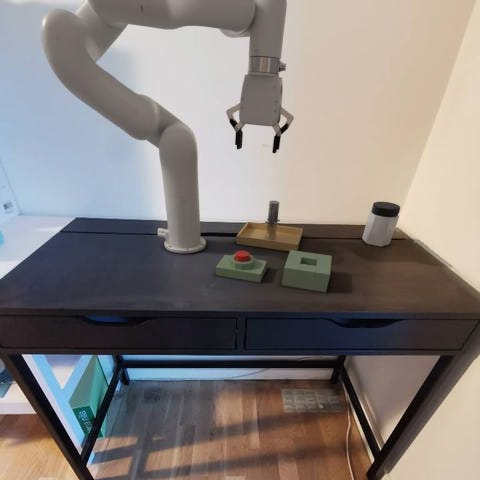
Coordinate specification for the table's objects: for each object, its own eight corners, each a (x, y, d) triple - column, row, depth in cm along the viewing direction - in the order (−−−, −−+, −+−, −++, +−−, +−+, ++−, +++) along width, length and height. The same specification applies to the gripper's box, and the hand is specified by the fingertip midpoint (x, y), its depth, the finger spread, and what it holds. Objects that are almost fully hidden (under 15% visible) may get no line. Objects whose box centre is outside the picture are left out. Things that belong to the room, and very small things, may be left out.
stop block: (215, 275, 82) (215, 261, 79) (224, 262, 88) (224, 249, 86) (260, 282, 79) (261, 268, 77) (266, 269, 86) (267, 255, 83)
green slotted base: (281, 285, 79) (284, 267, 76) (288, 266, 87) (290, 249, 84) (325, 292, 77) (330, 274, 74) (327, 272, 85) (331, 255, 82)
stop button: (233, 261, 81) (233, 255, 80) (237, 256, 83) (237, 249, 82) (247, 263, 80) (247, 257, 79) (250, 257, 83) (250, 251, 82)
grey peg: (263, 239, 101) (266, 203, 94) (265, 234, 105) (268, 199, 98) (276, 241, 100) (280, 204, 93) (278, 236, 104) (282, 200, 97)
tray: (236, 243, 99) (236, 235, 97) (247, 228, 110) (247, 221, 109) (296, 252, 95) (297, 244, 94) (301, 236, 106) (302, 228, 105)
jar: (377, 248, 100) (389, 210, 93) (357, 239, 105) (367, 203, 98) (394, 243, 104) (407, 206, 97) (373, 235, 109) (384, 200, 102)
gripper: (302, 72, 75) (290, 152, 85) (232, 67, 77) (229, 145, 87) (299, 69, 69) (286, 156, 79) (223, 64, 71) (221, 148, 82)
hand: (256, 150), depth 83 cm, fingers open, 9 cm apart
